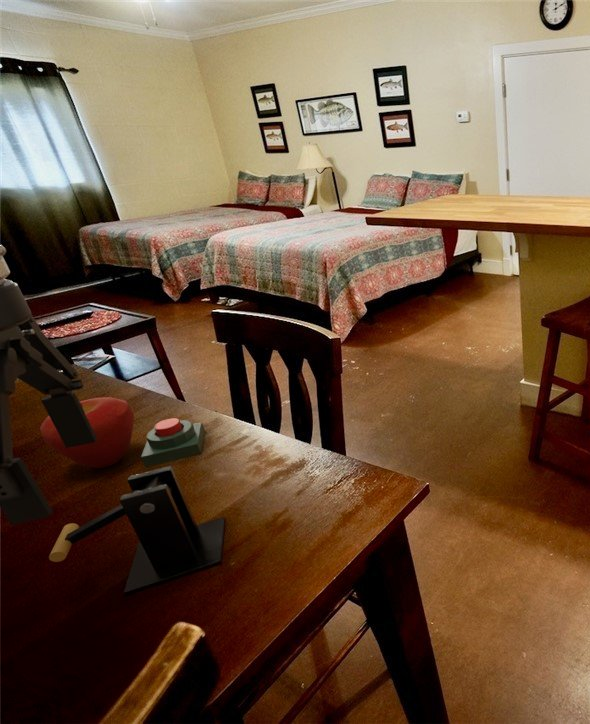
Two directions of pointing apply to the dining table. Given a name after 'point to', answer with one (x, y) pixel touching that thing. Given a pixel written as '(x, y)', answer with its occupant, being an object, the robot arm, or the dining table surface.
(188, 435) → the button box
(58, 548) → the lever
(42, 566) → the dining table surface
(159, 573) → the bracket
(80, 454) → the apple
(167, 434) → the button
